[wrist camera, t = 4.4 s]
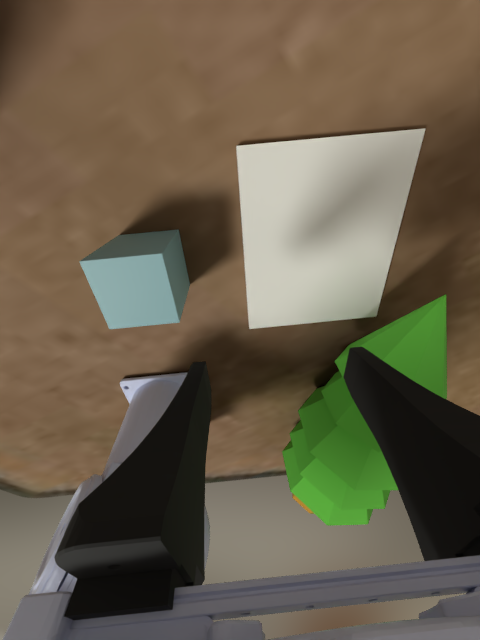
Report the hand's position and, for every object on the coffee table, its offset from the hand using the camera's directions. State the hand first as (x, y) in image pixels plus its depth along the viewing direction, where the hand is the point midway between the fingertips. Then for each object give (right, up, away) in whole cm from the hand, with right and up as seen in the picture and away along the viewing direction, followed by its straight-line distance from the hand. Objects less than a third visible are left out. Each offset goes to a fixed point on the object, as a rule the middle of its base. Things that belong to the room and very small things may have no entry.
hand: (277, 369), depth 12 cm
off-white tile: (+4, +8, +7) cm, 12 cm away
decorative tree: (+10, -5, +17) cm, 20 cm away
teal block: (-9, +7, +7) cm, 13 cm away
